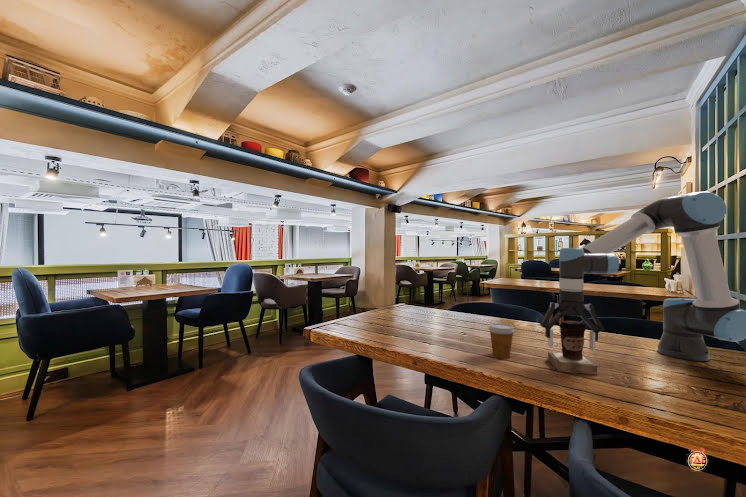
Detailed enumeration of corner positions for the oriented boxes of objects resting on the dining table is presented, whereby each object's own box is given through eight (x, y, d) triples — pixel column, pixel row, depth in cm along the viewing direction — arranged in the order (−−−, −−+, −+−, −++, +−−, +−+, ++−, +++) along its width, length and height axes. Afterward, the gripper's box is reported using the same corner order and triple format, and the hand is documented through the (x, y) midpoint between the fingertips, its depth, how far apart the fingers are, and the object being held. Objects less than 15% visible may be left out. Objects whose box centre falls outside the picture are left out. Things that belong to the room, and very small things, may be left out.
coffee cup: (591, 362, 110) (591, 325, 110) (565, 361, 111) (565, 324, 111) (579, 354, 118) (580, 320, 118) (555, 353, 120) (555, 319, 120)
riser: (583, 362, 119) (583, 353, 119) (597, 374, 108) (597, 365, 108) (548, 359, 122) (548, 351, 122) (558, 371, 111) (558, 361, 111)
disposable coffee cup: (514, 354, 129) (514, 324, 129) (514, 361, 120) (514, 330, 120) (489, 350, 133) (489, 322, 133) (487, 357, 124) (487, 327, 124)
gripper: (605, 289, 116) (605, 347, 116) (531, 287, 122) (531, 342, 122) (615, 292, 108) (615, 354, 108) (536, 290, 114) (536, 348, 114)
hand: (571, 348), depth 115 cm, fingers open, 13 cm apart
